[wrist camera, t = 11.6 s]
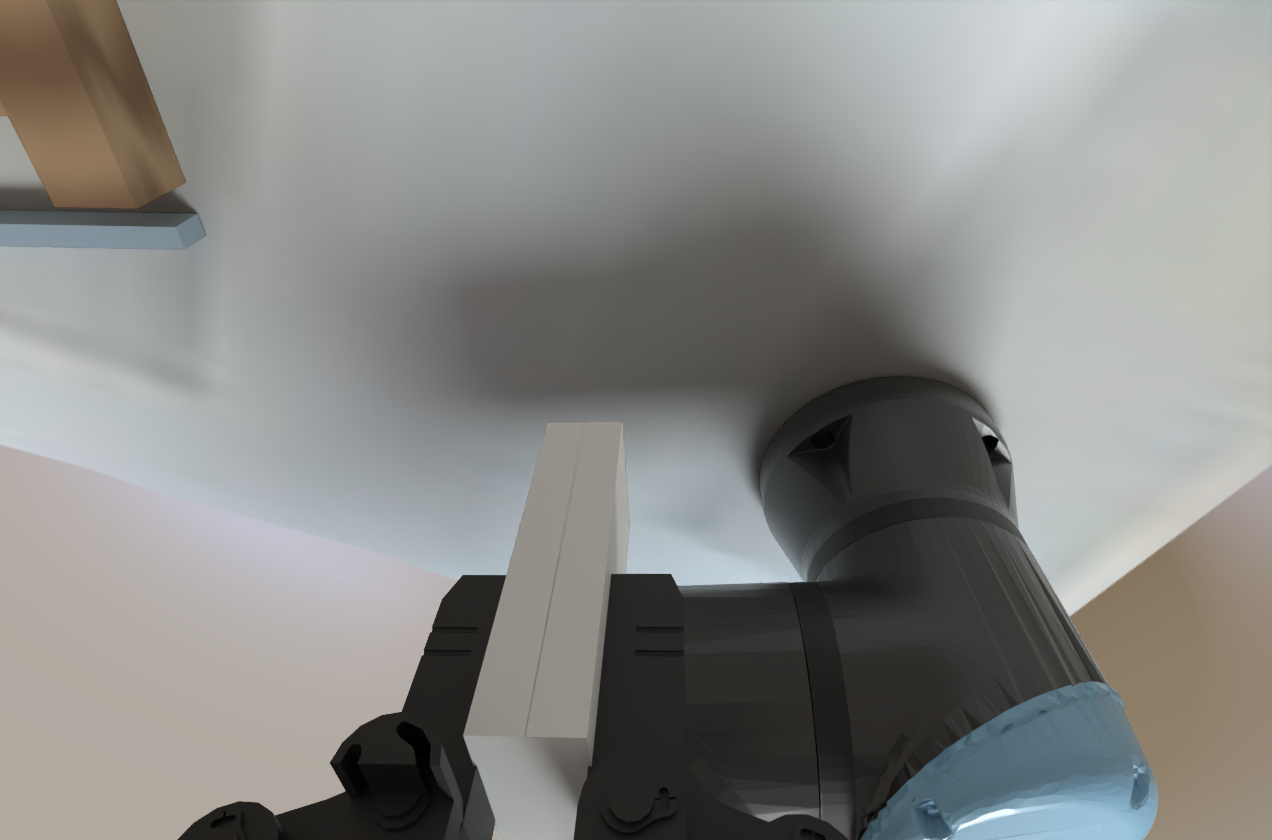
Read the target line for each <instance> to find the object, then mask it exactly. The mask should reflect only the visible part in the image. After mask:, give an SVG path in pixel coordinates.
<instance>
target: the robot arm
mask: <svg viewBox="0 0 1272 840" xmlns="http://www.w3.org/2000/svg"><path fill="white" fill-rule="evenodd" d="M760 492H761V499H762V505H763V511H764V515H765V518H766V521H767V524H768V526H769V529H770V531H771V533H772V534H773V536H774V538H775V539H776V541H777V542H778V544H779V545H780V547H781V548H782V550H783V551H784V553H785V554H786V556H787V557H788V559H789V560H790V562H791V563H792V565H793V566H794V568H795V569H796V571H797V572H798V574H799V575H800V577H801V578H802V580H803V581H804V582H794V583H788V582H778V583H750V584H722V585H694V586H677V585H676V583H675V581H674V579H673V577H672V575H671V574H626V563H627V550H628V538H629V525H630V520H629V507H628V493H627V479H626V465H625V452H624V438H623V424H622V422H556V423H547V427H546V431H545V434H544V438H543V442H542V445H541V449H540V453H539V456H538V460H537V464H536V468H535V471H534V475H533V479H532V482H531V486H530V490H529V493H528V497H527V501H526V505H525V508H524V512H523V516H522V519H521V523H520V527H519V531H518V534H517V538H516V542H515V545H514V549H513V553H512V556H511V560H510V564H509V568H508V571H507V575H463V576H462V577H461V578H460V579H459V580H458V581H457V583H456V584H455V585H454V586H453V587H452V588H451V590H450V591H449V592H448V593H447V594H446V595H445V597H444V598H443V599H442V601H441V604H440V607H439V610H438V612H437V615H436V618H435V621H434V623H433V626H432V629H433V630H432V632H431V633H430V635H429V637H428V640H427V643H426V646H425V648H424V655H423V656H422V657H421V660H420V662H419V665H418V668H417V671H416V674H415V676H414V679H413V682H412V685H411V688H410V690H409V693H408V696H407V699H406V702H405V704H404V707H403V710H402V712H399V713H393V714H386V715H382V716H379V717H377V718H375V719H374V720H371V721H370V722H367V723H366V724H363V725H362V726H360V727H359V728H358V729H357V730H356V731H355V732H354V733H353V734H351V735H350V736H349V737H348V738H347V739H346V740H345V741H344V742H343V743H342V744H341V746H340V747H339V749H338V751H337V752H336V754H335V755H334V757H333V759H332V760H331V762H330V764H331V766H332V767H333V769H334V771H335V772H336V774H337V776H338V778H339V780H340V781H341V783H342V785H343V787H344V788H345V790H346V791H345V792H343V793H341V794H339V795H336V796H334V797H332V798H329V799H327V800H323V801H320V802H317V803H314V804H310V805H307V806H304V807H301V808H298V809H295V810H291V811H288V812H285V813H282V814H279V815H274V814H273V813H272V812H271V811H270V810H268V809H267V808H265V807H264V806H262V805H261V804H260V803H255V802H241V801H239V802H236V803H233V804H229V805H226V806H222V807H219V808H217V809H215V810H213V811H212V812H210V813H209V814H207V815H205V816H204V817H202V818H201V819H199V820H198V821H196V822H194V823H193V824H192V825H191V826H190V827H189V828H188V829H187V830H186V832H185V833H184V834H183V835H182V836H181V837H180V838H179V839H178V840H492V835H493V830H494V826H495V829H496V832H497V834H498V838H499V840H1143V839H1144V838H1145V837H1146V835H1147V833H1148V832H1149V831H1150V829H1151V827H1152V825H1153V823H1154V820H1155V817H1156V813H1157V808H1158V791H1157V784H1156V781H1155V777H1154V774H1153V772H1152V769H1151V767H1150V765H1149V763H1148V761H1147V759H1146V757H1145V754H1144V752H1143V750H1142V748H1141V746H1140V744H1139V742H1138V740H1137V737H1136V735H1135V733H1134V731H1133V729H1132V727H1131V725H1130V722H1129V721H1128V718H1127V716H1126V714H1125V712H1124V707H1123V701H1122V699H1121V698H1120V696H1119V694H1118V692H1117V691H1116V690H1115V689H1114V688H1112V687H1111V686H1109V684H1108V682H1107V681H1106V679H1105V677H1104V676H1103V674H1102V672H1101V670H1100V669H1099V667H1098V665H1097V664H1096V662H1095V660H1094V659H1093V657H1092V655H1091V653H1090V652H1089V650H1088V648H1087V646H1086V645H1085V643H1084V641H1083V640H1082V638H1081V636H1080V634H1079V633H1078V631H1077V629H1076V628H1075V626H1074V624H1073V622H1072V621H1071V619H1070V617H1069V616H1068V614H1067V612H1066V611H1065V609H1064V607H1063V605H1062V604H1061V602H1060V600H1059V599H1058V597H1057V595H1056V593H1055V592H1054V590H1053V588H1052V587H1051V585H1050V583H1049V581H1048V580H1047V578H1046V576H1045V575H1044V573H1043V571H1042V569H1041V568H1040V566H1039V564H1038V563H1037V561H1036V559H1035V557H1034V556H1033V554H1032V553H1031V551H1030V549H1029V547H1028V546H1027V544H1026V542H1025V540H1024V539H1023V537H1022V535H1021V533H1020V531H1019V529H1018V519H1017V508H1016V497H1015V486H1014V475H1013V465H1012V460H1011V456H1010V452H1009V450H1008V447H1007V444H1006V442H1005V440H1004V438H1003V437H1002V435H1001V433H1000V432H999V430H998V429H997V427H996V426H995V424H994V422H993V421H992V419H991V418H990V416H989V415H988V413H987V412H986V411H985V410H984V409H983V407H982V406H981V405H980V404H979V403H978V402H976V401H975V400H974V399H973V398H971V397H970V396H968V395H967V394H965V393H964V392H962V391H960V390H958V389H956V388H954V387H952V386H949V385H946V384H944V383H941V382H937V381H933V380H928V379H923V378H915V377H884V378H876V379H870V380H865V381H861V382H857V383H853V384H850V385H847V386H844V387H841V388H838V389H836V390H834V391H831V392H829V393H827V394H825V395H823V396H821V397H819V398H817V399H816V400H814V401H812V402H811V403H809V404H808V405H806V406H805V407H803V408H802V409H801V410H799V411H798V412H797V413H795V414H794V415H793V416H792V417H791V418H790V419H789V420H788V421H787V422H786V423H785V424H784V425H783V426H782V427H781V428H780V430H779V431H778V432H777V434H776V435H775V436H774V438H773V439H772V441H771V443H770V444H769V446H768V448H767V450H766V452H765V455H764V457H763V461H762V464H761V469H760Z"/></svg>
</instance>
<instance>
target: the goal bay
mask: <svg viewBox="0 0 1272 840" xmlns="http://www.w3.org/2000/svg"><path fill="white" fill-rule="evenodd" d="M205 236H206V234H205V231H204V229H203V226H202V223H201V221H200V218H199V216H198V214H195V213H138V212H81V211H23V210H0V246H15V247H66V248H118V249H170V250H185V249H187V248H188V247H190V246H191V245H193V244H194V243H196V242H197V241H199V240H200V239H202V238H203V237H205Z"/></svg>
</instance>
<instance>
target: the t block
mask: <svg viewBox="0 0 1272 840" xmlns="http://www.w3.org/2000/svg"><path fill="white" fill-rule="evenodd" d="M0 116H8V117H9V119H10V121H11V123H12V125H13V127H14V129H15V131H16V133H17V135H18V137H19V139H20V141H21V143H22V144H23V146H24V148H25V150H26V152H27V154H28V156H29V158H30V160H31V162H32V164H33V166H34V168H35V170H36V172H37V174H38V176H39V178H40V180H41V182H42V184H43V186H44V188H45V189H46V191H47V193H48V195H49V197H50V199H51V201H52V203H53V205H54V207H78V208H136V209H137V208H139V207H141V206H143V205H145V204H147V203H148V202H150V201H152V200H154V199H156V198H158V197H160V196H162V195H163V194H165V193H167V192H169V191H171V190H173V189H175V188H177V187H178V186H180V185H182V184H184V183H186V180H185V178H184V175H183V172H182V170H181V167H180V165H179V162H178V159H177V157H176V154H175V152H174V149H173V147H172V144H171V141H170V139H169V136H168V134H167V131H166V128H165V126H164V123H163V121H162V118H161V115H160V113H159V110H158V108H157V105H156V102H155V100H154V97H153V95H152V92H151V89H150V87H149V84H148V82H147V79H146V76H145V74H144V71H143V69H142V66H141V64H140V61H139V58H138V56H137V53H136V51H135V48H134V45H133V43H132V40H131V38H130V35H129V32H128V30H127V27H126V25H125V22H124V19H123V17H122V14H121V12H120V9H119V6H118V4H117V1H116V0H0Z"/></svg>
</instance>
